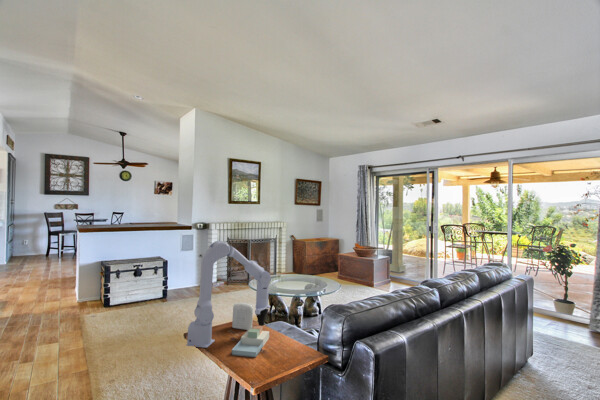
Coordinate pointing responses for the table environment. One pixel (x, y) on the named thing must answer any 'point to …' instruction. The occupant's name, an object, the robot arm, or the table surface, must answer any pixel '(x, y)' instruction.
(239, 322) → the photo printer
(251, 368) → the table surface
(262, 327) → the terracotta tile
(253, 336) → the sage tile
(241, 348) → the box
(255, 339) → the cream square block
